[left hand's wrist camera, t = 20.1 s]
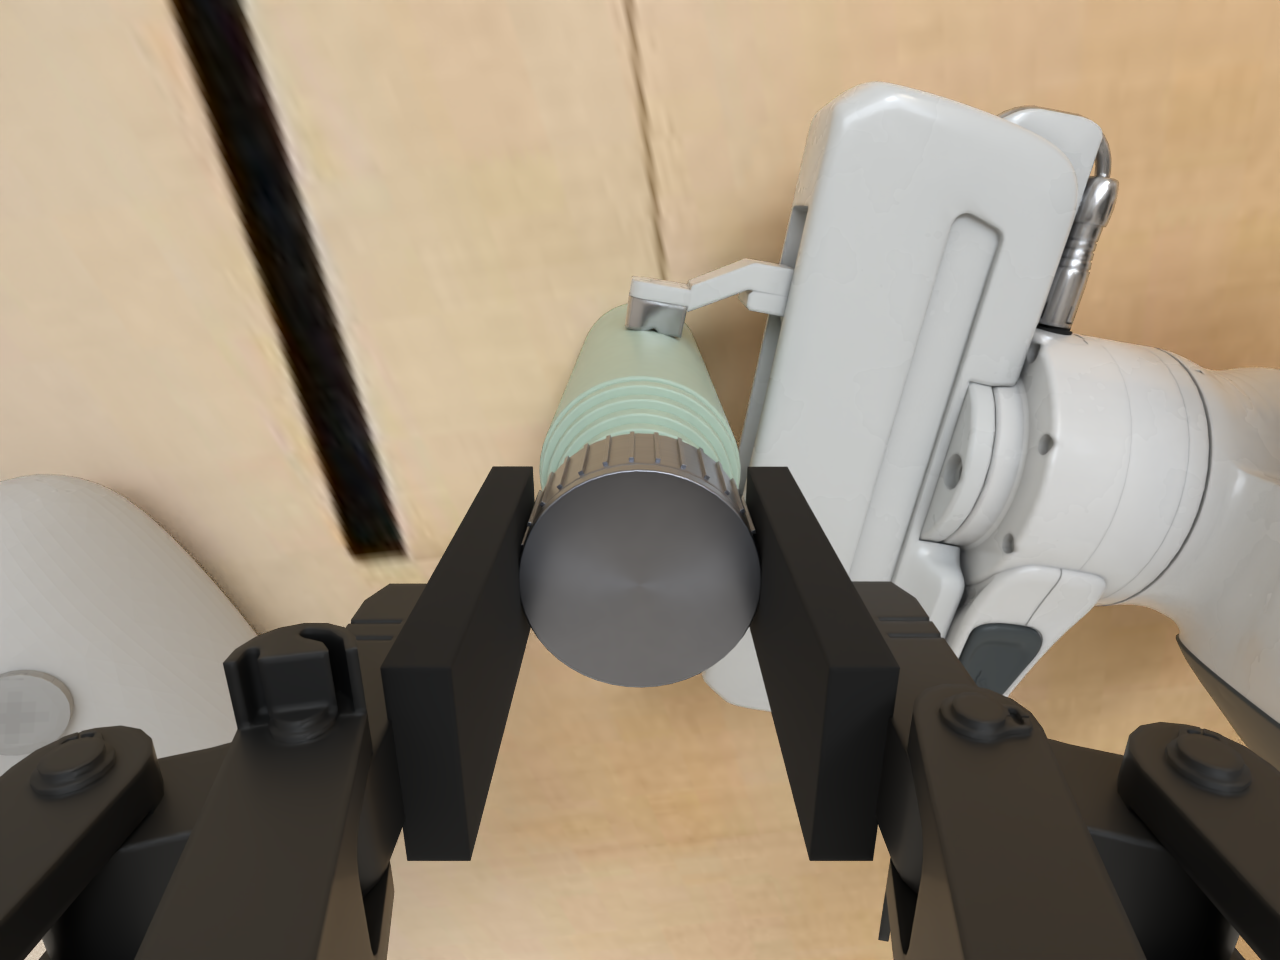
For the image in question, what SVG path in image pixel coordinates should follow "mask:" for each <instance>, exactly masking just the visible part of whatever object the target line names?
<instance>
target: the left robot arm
mask: <svg viewBox="0 0 1280 960" xmlns="http://www.w3.org/2000/svg"><path fill="white" fill-rule="evenodd" d="M534 503H535V501H534V482H533V467H492V469H491V471H490V473H489V474H488V476H487V478H486V480H485V481H484V483H483V485H482V487H481V489H480V490H479V492H478V494H477V496H476V497H475V499H474V501H473V503H472V505H471V506H470V508H469V510H468V512H467V514H466V515H465V517H464V519H463V521H462V522H461V524H460V526H459V528H458V530H457V531H456V533H455V535H454V537H453V538H452V540H451V542H450V544H449V546H448V547H447V549H446V551H445V553H444V555H443V556H442V558H441V560H440V562H439V563H438V565H437V567H436V569H435V571H434V572H433V574H432V576H431V578H430V580H429V581H428V583H427V584H389V585H387V586H386V587H384V588H383V589H381V590H380V591H378V592H377V593H375V594H374V595H372V596H371V597H369V598H368V599H366V600H365V601H364V602H363V604H362V605H361V607H360V608H359V609H358V611H357V612H356V614H355V615H354V617H353V618H352V619H351V624H348V625H347V627H346V628H345V627H341V626H337V625H333V624H329V623H303V624H297V625H292V626H287V627H282V628H278V629H275V630H272V631H270V632H267V633H264V634H262V635H259V636H256V637H254V638H252V639H251V640H249V641H248V642H246V643H244V644H243V645H241V646H239V647H238V648H236V649H235V650H234V651H233V652H232V653H231V654H230V655H229V657H228V658H227V659H226V660H225V661H224V662H223V667H224V671H225V676H226V680H227V685H228V689H229V693H230V698H231V702H232V707H233V711H234V716H235V720H236V724H237V731H236V734H235V736H234V738H233V740H232V742H230V743H226V744H223V745H219V746H215V747H212V748H207V749H202V750H197V751H192V752H187V753H183V754H178V755H173V756H168V757H163V758H159V759H157V756H156V752H155V748H154V745H153V741H152V738H151V737H150V736H148V735H147V734H146V733H145V732H144V731H143V730H141V729H138V728H133V727H127V726H121V725H120V726H110V727H100V728H93V729H88V730H83V731H81V732H79V733H78V732H76V733H73V734H70V735H67V736H64V737H62V738H60V739H59V740H57V741H54V742H52V743H50V744H48V745H46V746H44V747H41V748H39V749H37V750H35V751H34V752H32V753H31V754H30V755H28V756H27V757H25V758H24V759H22V760H21V761H19V762H18V763H17V764H15V765H14V766H12V767H11V768H10V769H9V770H7V771H6V772H5V773H4V774H3V775H2V776H0V960H24V959H25V958H26V957H27V955H28V954H29V953H30V952H31V951H32V950H33V948H34V947H35V946H36V945H37V944H38V943H39V941H40V940H41V939H43V942H44V945H45V947H46V951H45V953H44V954H43V955H42V956H41V958H40V959H39V960H387V951H388V942H389V934H390V925H391V916H392V907H393V899H394V886H393V878H392V872H391V865H390V858H391V856H392V853H393V850H394V848H395V845H396V842H397V840H398V837H399V835H400V832H401V829H402V827H403V833H404V840H405V847H406V854H407V861H471V857H472V853H473V849H474V845H475V841H476V837H477V833H478V830H479V826H480V822H481V818H482V814H483V810H484V806H485V802H486V799H487V795H488V791H489V787H490V783H491V779H492V775H493V771H494V768H495V764H496V760H497V756H498V752H499V748H500V744H501V740H502V737H503V733H504V729H505V725H506V721H507V717H508V713H509V709H510V706H511V702H512V698H513V694H514V690H515V686H516V682H517V678H518V675H519V671H520V667H521V663H522V659H523V655H524V651H525V648H526V644H527V640H528V636H529V632H530V628H531V627H530V625H529V622H528V620H527V618H526V616H525V614H524V611H523V608H522V604H521V601H520V586H519V559H520V555H521V551H522V545H521V544H522V541H523V538H524V535H525V532H526V530H527V527H528V526H527V523H528V520H529V518H530V515H531V512H532V509H533V506H534ZM746 505H747V508H748V510H749V513H750V516H751V519H752V522H753V525H754V528H755V530H756V534H754V535H753V536H754V539H755V542H756V545H757V548H758V551H759V554H760V560H761V566H762V573H761V589H760V601H759V604H758V608H757V611H756V614H755V616H754V618H753V621H752V623H751V625H750V626H749V627H750V631H751V635H752V639H753V643H754V647H755V651H756V654H757V658H758V662H759V666H760V670H761V674H762V678H763V682H764V685H765V689H766V693H767V697H768V701H769V705H770V709H771V713H772V716H773V720H774V724H775V728H776V732H777V736H778V740H779V744H780V747H781V751H782V755H783V759H784V763H785V767H786V771H787V775H788V778H789V782H790V786H791V790H792V794H793V798H794V802H795V806H796V809H797V813H798V817H799V821H800V825H801V829H802V833H803V837H804V840H805V844H806V848H807V852H808V856H809V860H810V861H873V856H874V849H875V841H876V834H877V827H878V825H879V828H880V830H881V833H882V836H883V838H884V841H885V843H886V846H887V849H888V851H889V854H890V856H891V858H890V865H889V871H888V878H887V885H886V891H885V898H884V904H883V911H882V917H881V924H880V931H879V939H878V940H882V941H889V935H890V932H891V941H892V950H893V958H894V960H1245V959H1244V958H1243V956H1242V955H1241V954H1240V953H1239V952H1238V950H1237V949H1236V948H1235V945H1236V943H1237V940H1238V938H1239V935H1240V936H1241V937H1242V938H1243V939H1244V940H1245V941H1246V943H1247V944H1248V945H1249V946H1250V947H1251V948H1252V950H1253V951H1254V952H1255V953H1256V954H1257V955H1258V957H1259V958H1260V959H1261V960H1280V771H1278V770H1277V769H1276V768H1275V767H1274V766H1272V765H1271V764H1270V763H1269V762H1267V761H1266V760H1264V759H1263V758H1261V757H1260V756H1258V755H1257V754H1256V753H1254V752H1253V751H1251V750H1250V749H1248V748H1247V747H1245V746H1243V745H1241V744H1239V743H1237V742H1234V741H1232V740H1230V739H1228V738H1226V737H1224V736H1222V735H1220V734H1218V733H1216V732H1213V731H1210V730H1207V729H1200V727H1195V726H1190V725H1185V724H1175V723H1165V722H1158V723H1152V724H1147V725H1141V726H1139V727H1138V728H1137V729H1136V730H1135V731H1134V732H1132V733H1131V734H1130V735H1129V738H1128V742H1127V746H1126V749H1125V753H1124V756H1123V755H1118V754H1114V753H1109V752H1104V751H1099V750H1094V749H1089V748H1085V747H1080V746H1075V745H1070V744H1066V743H1062V742H1059V741H1055V740H1051V739H1048V738H1047V737H1046V734H1045V732H1044V730H1043V728H1042V727H1041V725H1040V724H1039V723H1038V721H1037V720H1036V719H1035V717H1034V716H1033V715H1032V713H1031V712H1029V711H1028V710H1027V709H1025V708H1024V707H1022V706H1021V705H1020V704H1018V703H1017V702H1015V701H1014V700H1013V699H1011V698H1008V697H1006V696H1004V695H1001V694H999V693H997V692H994V691H992V690H990V689H985V688H981V687H978V686H977V685H976V683H975V682H974V680H973V679H972V677H971V676H970V675H969V673H968V672H967V670H966V669H965V667H964V666H963V665H962V663H961V662H960V660H959V659H958V657H957V656H956V655H955V653H954V652H953V650H952V649H951V647H950V646H949V645H948V643H947V642H946V640H945V639H944V638H941V633H940V632H939V630H938V629H937V627H936V626H935V625H934V623H933V622H932V621H930V620H929V616H928V615H927V613H926V612H925V610H924V609H923V607H922V606H921V605H920V603H919V602H918V600H917V599H916V598H915V597H914V596H912V595H911V594H909V593H908V592H906V591H905V590H903V589H902V588H900V587H899V586H897V585H896V584H894V583H893V582H891V581H851V579H850V577H849V576H848V574H847V572H846V570H845V568H844V567H843V565H842V563H841V561H840V560H839V558H838V556H837V554H836V552H835V551H834V549H833V547H832V545H831V543H830V542H829V540H828V538H827V536H826V535H825V533H824V531H823V529H822V527H821V526H820V524H819V522H818V520H817V518H816V517H815V515H814V513H813V511H812V510H811V508H810V506H809V504H808V502H807V501H806V499H805V497H804V495H803V494H802V492H801V490H800V488H799V486H798V485H797V483H796V481H795V479H794V477H793V476H792V474H791V472H790V470H789V469H788V467H747V486H746Z"/></svg>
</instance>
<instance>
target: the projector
mask: <svg viewBox="0 0 1280 960" xmlns="http://www.w3.org/2000/svg"><path fill="white" fill-rule="evenodd" d="M256 636H258V635H257V634H256V633H255V632H254V630H253V629H252V628H251V627H250V625H249V624H248V623H247V621H246V620H245V619H244V618H243V616H242V615H241V614H240V613H239V611H238V610H237V609H236V608H235V607H234V605H233V604H232V603H231V602H230V601H229V599H228V598H227V597H226V596H225V595H224V593H223V592H222V591H221V590H220V589H219V588H218V586H217V585H216V584H215V583H214V582H213V581H212V579H211V578H210V577H209V576H208V575H207V574H206V573H205V572H204V571H203V569H202V568H201V567H200V566H199V565H198V564H197V563H196V562H195V561H194V560H193V558H192V557H191V556H190V555H189V554H188V553H187V552H186V551H185V550H184V549H183V548H182V547H181V546H180V545H179V544H178V543H177V542H176V541H175V540H174V539H173V538H172V537H171V536H170V535H169V534H168V533H167V532H166V531H165V530H164V529H163V528H162V527H161V526H159V525H158V524H157V523H156V522H155V521H154V520H153V519H152V518H151V517H149V516H148V515H147V514H146V513H145V512H144V511H142V510H141V509H140V508H138V507H137V506H135V505H134V504H133V503H131V502H130V501H129V500H127V499H126V498H125V497H123V496H121V495H120V494H118V493H116V492H114V491H113V490H111V489H109V488H106V487H104V486H102V485H100V484H98V483H94V482H91V481H88V480H85V479H81V478H77V477H71V476H65V475H29V476H22V477H17V478H13V479H8V480H4V481H0V776H2V775H3V774H4V773H5V772H6V771H7V770H9V769H10V768H11V767H12V766H14V765H15V764H17V763H18V762H19V761H21V760H22V759H24V758H25V757H27V756H28V755H30V754H31V753H32V752H34V751H35V750H37V749H39V748H41V747H44V746H46V745H48V744H50V743H52V742H54V741H57V740H59V739H60V738H62V737H64V736H67V735H70V734H73V733H76V732H78V733H79V732H81V731H83V730H88V729H93V728H100V727H110V726H120V725H121V726H127V727H133V728H138V729H141V730H143V731H144V732H145V733H146V734H147V735H148V736H150V737H151V738H152V741H153V745H154V748H155V752H156V756H157V759H159V758H163V757H168V756H173V755H178V754H183V753H187V752H192V751H197V750H202V749H207V748H212V747H215V746H219V745H223V744H226V743H230V742H232V740H233V738H234V736H235V734H236V731H237V724H236V720H235V716H234V711H233V707H232V702H231V698H230V693H229V689H228V685H227V680H226V676H225V671H224V667H223V662H224V661H225V660H226V659H227V658H228V657H229V655H230V654H231V653H232V652H233V651H234V650H235V649H236V648H238V647H239V646H241V645H243V644H244V643H246V642H248V641H249V640H251V639H252V638H254V637H256Z"/></svg>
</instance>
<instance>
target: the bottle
mask: <svg viewBox="0 0 1280 960" xmlns="http://www.w3.org/2000/svg"><path fill="white" fill-rule="evenodd" d="M627 306H628V304H625V305H621V306H618V307H616V308H614V309H612V310H610V311H609V312H607V313H606V314H604V315H603V316H602V317H601V318H600V319H599V320H598V321H597V322H596V323H595V324H594V325H593V327H592V328H591V330H590V331H589V333H588V335H587V337H586V339H585V342H584V344H583V347H582V349H581V352H580V354H579V356H578V359H577V361H576V364H575V366H574V369H573V371H572V374H571V376H570V379H569V381H568V384H567V386H566V389H565V391H564V393H563V396H562V398H561V401H560V403H559V406H558V408H557V411H556V413H555V416H554V418H553V421H552V423H551V425H550V428H549V430H548V433H547V436H546V438H545V441H544V444H543V447H542V452H541V457H540V483H541V488H542V491H543V489H544V487H545V486H546V483H547V480H548V477H549V474H550V473H551V472H553V473H555V472H556V470H557V469H558V468H559V467H560V466H561V465H562V464H563V463H564V460H565V458H566V457H567V456H569V457H571V456H572V455H574V454H575V453H577V452H578V451H580V450H581V449H583V448H584V445H585V444H587V443H588V444H589V445H591V444H593V443H595V442H597V441H600V440H603V439H606V436H608V435H611V437H613V436H618V435H623V434H630V432H632V431H634V432H635V433H644V434H654V432H658V433H659V435H662V436H668V437H671V438H674V439H677V438H681V439H682V441H683V442H685V443H687V444H689V445H692V446H694V447H696V448H697V449H698V448H699V447H700V448H702V449H703V451H704V453H705V454H707V455H708V456H709V457H710V458H711V459H713V460H714V461H715V462H717V461H719V462H720V463H721V465H722V468H723V470H724V471H725V472H726V474H727V475H728V476H729V478H730V479H732V478H734V480H735V482H736V485H737V488H738V489H739V483H740V457H739V451H738V447H737V444H736V440H735V438H734V435H733V433H732V430H731V428H730V425H729V423H728V420H727V418H726V416H725V413H724V411H723V408H722V406H721V403H720V401H719V398H718V396H717V393H716V391H715V388H714V386H713V383H712V381H711V378H710V376H709V373H708V371H707V368H706V366H705V364H704V361H703V359H702V356H701V354H700V351H699V349H698V346H697V344H696V341H695V339H694V336H693V334H692V333H691V331H690V329H689V328H688V326H687V325H686V324H685V322H684V326H683V331H682V336H681V338H680V337H674V336H668V335H664V334H660V333H658V332H657V331H656V330H655V329H654V328H652V329H650V330H648V331H638V330H633V329H630V328H627V327H625V320H626V313H627Z"/></svg>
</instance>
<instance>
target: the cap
mask: <svg viewBox="0 0 1280 960" xmlns="http://www.w3.org/2000/svg"><path fill="white" fill-rule="evenodd" d="M527 526H528V527H527V530H526V532H525V535H524V538H523V541H522V544H521V545H522V551H521V555H520V559H519V586H520V601H521V604H522V608H523V611H524V614H525V616H526V618H527V620H528V622H529V625H530V627H531V628H532V630H533V631H534V633H535V634H536V636H537V637H538V639H539V640H540V641H541V642H542V644H543V645H544V646H545V647H546V648H547V650H549V651H550V652H551V653H552V654H553V655H554V656H555V657H556V658H557V659H558V660H560V661H561V662H563V663H564V664H566V665H567V666H568V667H570V668H571V669H573V670H575V671H577V672H579V673H581V674H583V675H585V676H587V677H590V678H592V679H595V680H597V681H601V682H605V683H608V684H612V685H619V686H625V687H655V686H662V685H667V684H672V683H676V682H679V681H682V680H686V679H688V678H690V677H693V676H695V675H697V674H700V673H701V672H703V671H705V670H707V669H708V668H710V667H712V666H713V665H715V664H716V663H717V662H719V661H720V660H721V659H723V658H724V657H725V656H726V655H727V654H728V653H729V652H730V651H731V650H732V649H733V648H734V647H735V646H736V645H737V644H738V643H739V641H740V640H741V639H742V638H743V636H744V635H745V633H746V631H747V630H748V628H749V626H750V625H751V623H752V621H753V618H754V616H755V614H756V611H757V608H758V604H759V601H760V589H761V573H762V566H761V560H760V554H759V551H758V548H757V545H756V542H755V539H754V536H753V535H754V534H756V530H755V528H754V525H753V522H752V519H751V516H750V513H749V510H748V508H747V505H746V502H745V499H744V497H743V498H741V496H740V493H739V490H738V488H737V485H736V482H735V480H734V478H732V479H730V478H729V476H728V475H727V474H726V472H725V471H724V470H723V468H722V465H721V463H720V462H719V461H717V462H715V461H714V460H713V459H711V458H710V457H709V456H708V455H707V454H705V453H704V451H703V449H702V448H700V447H699V448H698V449H697V448H696V447H694V446H692V445H689V444H687V443H685V442H683V441H682V439H681V438H677V439H674V438H671V437H668V436H662V435H659V433H658V432H654V434H644V433H635V432H634V431H632V432H630V434H623V435H618V436H613V437H611V435H608V436H606V439H603V440H600V441H597V442H595V443H593V444H591V445H589V444H588V443H587V444H585V445H584V448H583V449H581V450H580V451H578V452H577V453H575V454H574V455H572V456H571V457H569V456H567V457H566V458H565V460H564V463H563V464H562V465H561V466H560V467H559V468H558V469H557V470H556V472H555V473H553V472H551V473H550V474H549V477H548V480H547V483H546V486H545V487H544V489H543V491H541V490H539V492H538V495H537V498H536V501H535V503H534V506H533V509H532V512H531V515H530V518H529V520H528V523H527Z"/></svg>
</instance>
